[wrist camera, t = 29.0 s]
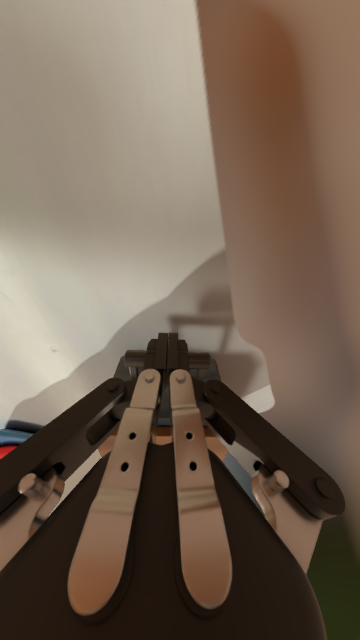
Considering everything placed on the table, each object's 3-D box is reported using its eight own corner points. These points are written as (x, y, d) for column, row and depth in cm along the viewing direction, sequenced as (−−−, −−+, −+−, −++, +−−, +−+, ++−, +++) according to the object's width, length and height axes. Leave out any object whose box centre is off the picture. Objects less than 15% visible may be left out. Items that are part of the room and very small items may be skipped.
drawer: (116, 319, 18) (83, 377, 12) (222, 324, 18) (245, 382, 12) (132, 414, 28) (120, 471, 22) (200, 415, 28) (206, 471, 22)
